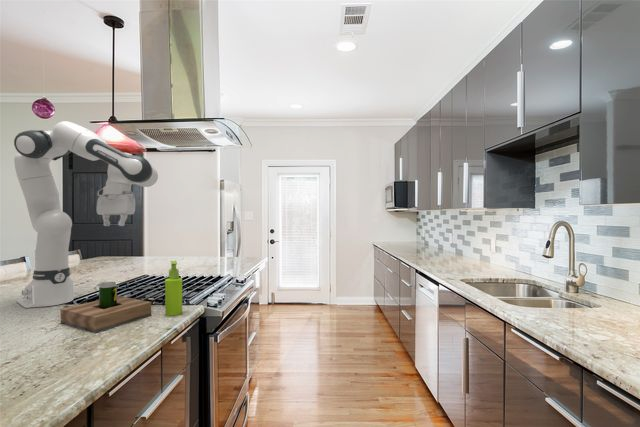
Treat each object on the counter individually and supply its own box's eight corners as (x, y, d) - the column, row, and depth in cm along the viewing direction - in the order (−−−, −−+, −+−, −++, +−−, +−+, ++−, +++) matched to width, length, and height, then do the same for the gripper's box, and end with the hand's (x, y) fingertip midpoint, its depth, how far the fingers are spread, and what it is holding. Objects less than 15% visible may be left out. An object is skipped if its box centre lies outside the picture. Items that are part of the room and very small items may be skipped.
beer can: (99, 320, 117) (98, 285, 117) (99, 316, 122) (99, 282, 121) (117, 317, 120) (117, 283, 120) (116, 313, 124) (116, 281, 124)
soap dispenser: (165, 317, 123) (165, 262, 123) (164, 312, 129) (164, 260, 129) (183, 315, 126) (183, 261, 125) (181, 310, 132) (181, 259, 131)
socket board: (60, 323, 117) (60, 309, 116) (117, 308, 134) (117, 295, 134) (95, 333, 108) (95, 317, 108) (151, 315, 125) (151, 302, 125)
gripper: (141, 192, 135) (137, 226, 133) (110, 194, 144) (106, 226, 143) (126, 189, 130) (122, 224, 128) (95, 191, 139) (90, 225, 137)
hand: (113, 225), depth 135 cm, fingers open, 8 cm apart
